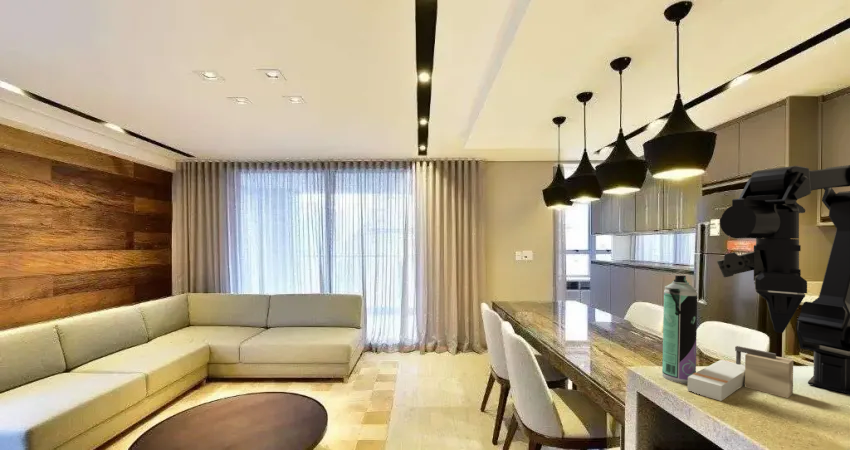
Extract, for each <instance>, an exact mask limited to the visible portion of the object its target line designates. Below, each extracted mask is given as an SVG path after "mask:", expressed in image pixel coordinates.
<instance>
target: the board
mask: <svg viewBox="0 0 850 450" xmlns="http://www.w3.org/2000/svg"><path fill="white" fill-rule="evenodd" d="M743 386H745V364H742V363H741V365H738V364H736V362H731V361H728V360H723V359H720V360H718V361H715V362H714V363H711V364H710V365H708V366H706V367H704V368H702V369H700V370H697V371H696V373H693V374H692V375H690V376H689V377H688V383H687V390H688V391H687V392H689V391H692V392H694V393H693V394H696V393H697V395H699V394H700V396H703V397H707V398H709V399H714V400H717V401H719V402H722V401H723V400H725V399H726V398H727V397H729V396H730V395H732V394H733V393H735V392H736V391H737V390H738V389H740V388H742V387H743ZM692 392H691V393H692Z"/></svg>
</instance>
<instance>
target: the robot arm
mask: <svg viewBox="0 0 850 450" xmlns="http://www.w3.org/2000/svg"><path fill="white" fill-rule="evenodd" d="M844 187H845V188H846V187H847V188H848V187H850V164H849V165H848V164H847V165H838V166H829V167H826V168H823V169H813V170H812V169H811V170H810V168H808V167H806V166H799V165H790V166H783V167H774V168H767V169H766V168H765V169H759V170H755V171H753V172H752V173H751V177H750V178H749V179H748V180H747V182H746V184H745V186H744V188H743V190H742V192H741V193H740V195H739V197H738V198H732V201H731V203H732V204H731V206H729V207H727V209H725V210H724V211H723V213H722V215H721V217H720V219H719V224H720V228H721V231H723V233H724V234H725V235H726V236H728V237H730V238H733V239H755V244H754V245H753V251H749V252H746V253H742V254H737V253H736V252H735V251H733V252H729V253H725V254H724V256H723V258H722V259H718V260H717V261H716V263H717V266H718V268H719V270H720V272H721V274H722V276H723V278H729V277H732V276H734V275H736V274H741V273H746V272H750V271H753V281H754V289H755V292H756V293H757V295H759V296H760V297H762V298H763V299H764V300H766V304H767V309H768V312H769V317H770V321H771V323H772V327H773V331H774V332H775V333H781V334H782V333H784V332H785V330H786V329H787V327H788V325H789V323H790V322H791V320H792V318H793V316H794V315H795V313H796V311H797V309H798V308H799V306H800V305H801V303H802V302H803V300H804V299H805V297H806V294H808V281H807V280H806V279H805V278H803V276H801V275H802V273H801V272H802V271H801V269H800V252H801V251H802V250H801V249H802V247H801V244H800V214H804V213H806V209H805V207H804V206H803V205H800V204H799V203H798V202H797V201H798V200H799V199H802V198H804V197H807V196H809V195H811V194H812V191H815V190H816V191H817V190H824V192H823V195H822V199H821V202H822V203H823V204H824V206H825V207H826V208H827V209H828V217H829V220H830V221H831V223H832V224H833V225H834V227H835V234H834V237H833V242H832V246H831V250H830V254H829V258H828V261H827V265H826V269H825V272H824V276H823V281H822V284H821V286H820V287H821V288H820V291H819V295H818V297H817V298H815V300H813V301H804V302H803V304H802V305H801V310H800V313H799V316H798V318H797V322H796V326H795V329H796V334H797V338H798V343H799V348H800V349H801V350H802V349H803V350H808V351H813V376H812V377H811V378H810V379H809V380H808V382H807V384H808V385H810V386H815V387H818V388H823V389H827V390H831V391H835V392H839V393H843V394H844V393H845V394H848V395H850V190H849V191H848V190H846V191H845V190H844V191H838V192H837V193H836V192H835V190H834V189H833V188H844Z"/></svg>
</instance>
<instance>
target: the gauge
mask: <svg viewBox="0 0 850 450" xmlns="http://www.w3.org/2000/svg"><path fill="white" fill-rule="evenodd" d="M734 349H735V363H736V364H738V365H741V364H742V363H741V362H742V357H741V356H742V353H745V354H744V356H745V359H744V365H745V384H744V387H745V388H748V389H752V390H754V391H755V390H756V391H759V392H763V393H765V394H766V393H767V394H770V395H775V396H779V397H782V398H786V399H789V398H790V397H791V396H792V394H793V393H794V359H792V358H791V359H790V358H786V357H781V356H777V353H774V352H769V351H766V350H765V351H764V350H761V349H754V348H748V347H743V346H740V345H736V346H735V348H734Z"/></svg>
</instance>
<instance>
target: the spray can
mask: <svg viewBox="0 0 850 450" xmlns="http://www.w3.org/2000/svg"><path fill="white" fill-rule="evenodd" d="M686 276H687V275H675V276H674V277H675V279H673V280H672V282H671V283H669V284H668V285H665V286H664V291H663V321H662V322H663V323H662V324H663V327H662V328H663V329H662V330H663V331H662V369H661V370H662V371H661V372H662V373H661V375H662V377H663V378H665V379H666V380H669V381H671V382H675V383H679V382H681V383H680V384H688V377H689V376H690V375H692V374H693V373H696V372H697V371H696V370H697V331H698V330H697V327H698V326H697V325H698V318H697V317H698V293H697V291H698V289H697V288H695V287H694V286H692V285H691V284H690V282H689V281H688V280H687V277H686Z"/></svg>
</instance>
